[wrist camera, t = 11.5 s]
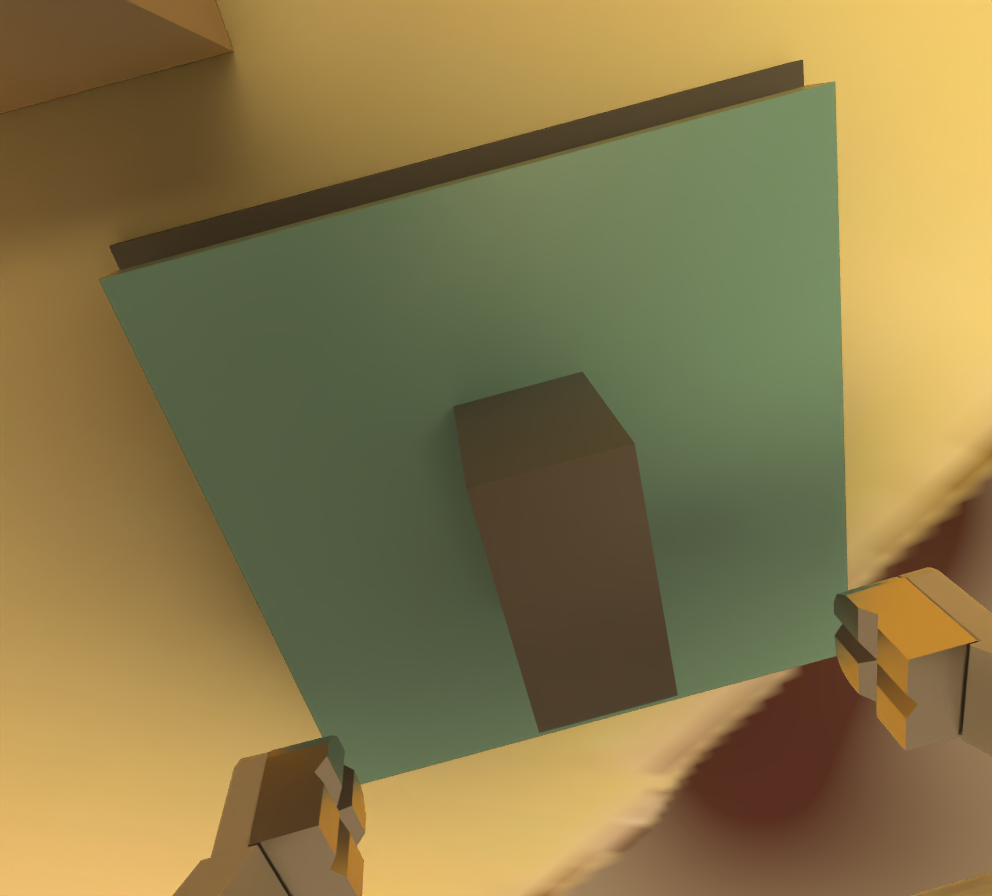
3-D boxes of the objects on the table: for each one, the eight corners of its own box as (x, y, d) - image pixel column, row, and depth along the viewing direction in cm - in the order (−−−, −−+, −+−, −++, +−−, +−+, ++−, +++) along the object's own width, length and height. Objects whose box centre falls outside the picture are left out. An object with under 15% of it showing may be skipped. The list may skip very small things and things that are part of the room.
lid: (353, 728, 22) (333, 932, 16) (138, 261, 16) (-15, 332, 10) (809, 605, 22) (946, 766, 16) (780, 88, 16) (988, 62, 10)
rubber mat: (345, 734, 23) (344, 744, 22) (115, 243, 16) (109, 246, 15) (819, 606, 23) (826, 614, 22) (794, 61, 16) (802, 59, 15)
